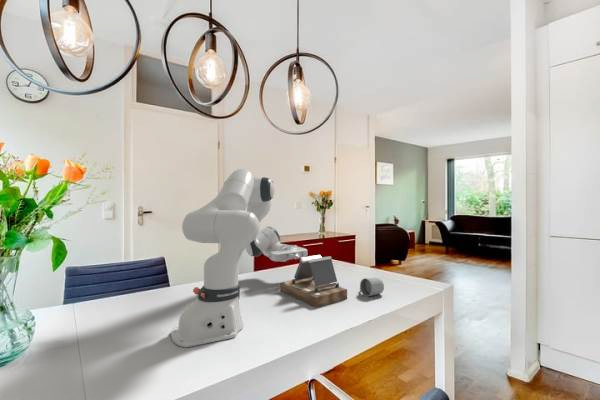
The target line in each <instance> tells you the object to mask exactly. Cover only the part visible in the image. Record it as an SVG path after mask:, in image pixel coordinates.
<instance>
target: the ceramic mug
mask: <svg viewBox="0 0 600 400" xmlns="http://www.w3.org/2000/svg"><path fill="white" fill-rule="evenodd" d="M359 284H360V285H359V292H360V293H362V294H363V296H364V297H373V296H377V295H380V294H382V293H383V292H384V289H385V284H384V282H383V281H382V279H381V278H379V277H364V278H362V279H361V281H360V283H359Z"/></svg>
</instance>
